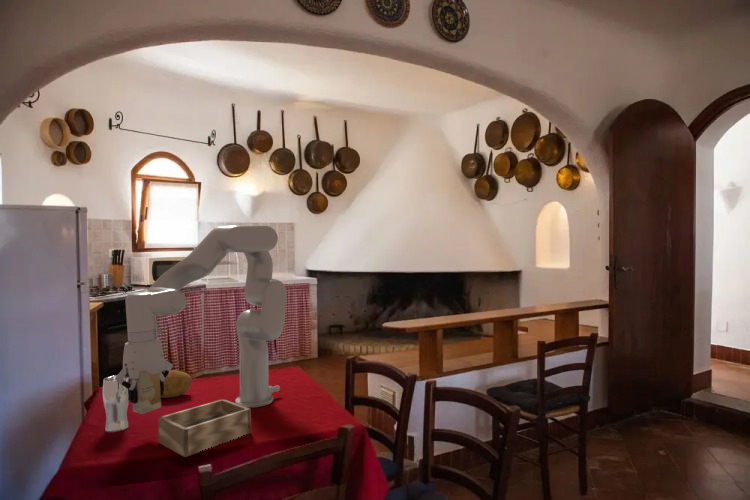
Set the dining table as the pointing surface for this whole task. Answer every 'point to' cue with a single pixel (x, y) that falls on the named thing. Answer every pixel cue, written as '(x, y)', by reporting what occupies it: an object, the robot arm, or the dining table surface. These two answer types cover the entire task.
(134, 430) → the dining table surface
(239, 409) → the insert box
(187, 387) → the potato
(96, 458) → the dining table surface
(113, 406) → the beer glass
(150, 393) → the skincare box
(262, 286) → the robot arm
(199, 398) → the dining table surface
